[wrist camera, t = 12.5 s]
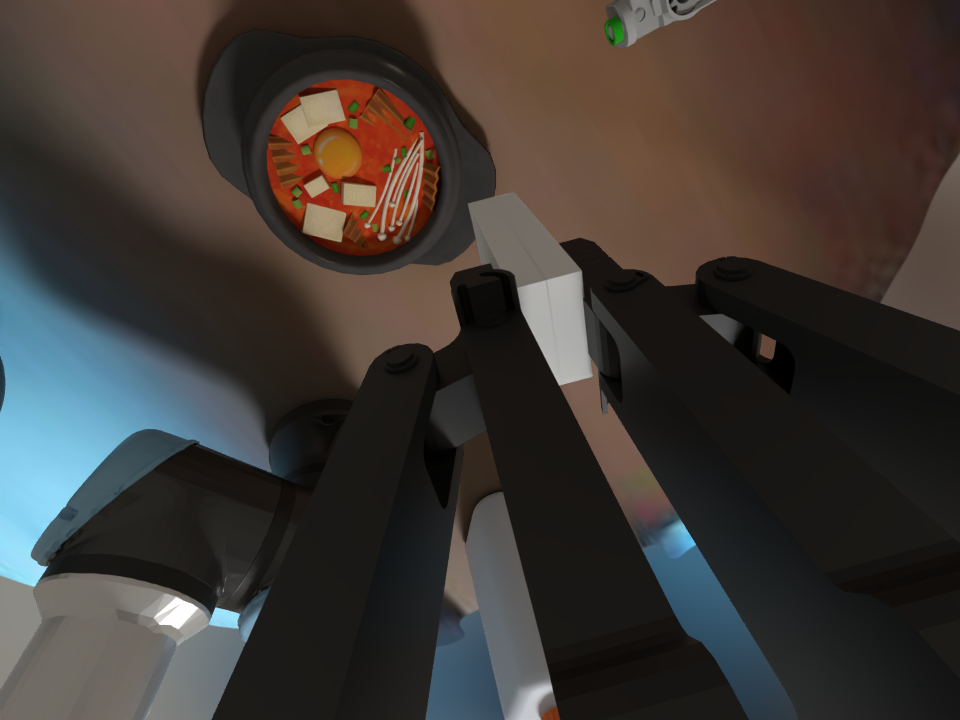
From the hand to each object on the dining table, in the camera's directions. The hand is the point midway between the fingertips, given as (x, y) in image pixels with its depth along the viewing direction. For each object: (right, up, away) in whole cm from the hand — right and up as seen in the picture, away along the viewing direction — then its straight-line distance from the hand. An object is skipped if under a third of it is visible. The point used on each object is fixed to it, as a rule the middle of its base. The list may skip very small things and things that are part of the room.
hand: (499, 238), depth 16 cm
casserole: (-11, +14, +28) cm, 34 cm away
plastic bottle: (+5, -29, +59) cm, 65 cm away
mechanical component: (+12, +26, +25) cm, 38 cm away
